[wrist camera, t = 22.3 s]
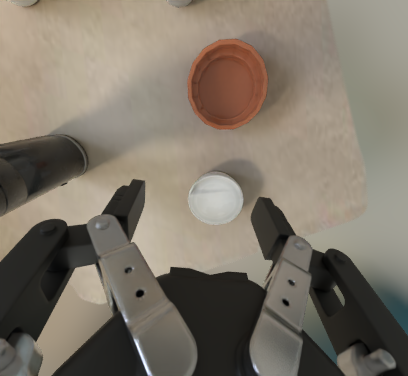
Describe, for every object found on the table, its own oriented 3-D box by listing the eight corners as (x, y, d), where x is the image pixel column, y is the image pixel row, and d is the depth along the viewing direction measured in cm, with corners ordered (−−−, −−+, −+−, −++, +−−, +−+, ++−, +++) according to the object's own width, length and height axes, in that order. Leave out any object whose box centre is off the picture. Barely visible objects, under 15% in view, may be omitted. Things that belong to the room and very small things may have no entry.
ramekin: (220, 156, 38) (221, 163, 33) (250, 194, 41) (255, 206, 37) (180, 186, 42) (176, 197, 37) (211, 219, 45) (211, 233, 40)
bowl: (182, 111, 35) (177, 112, 30) (206, 35, 30) (204, 23, 25) (241, 135, 36) (245, 140, 32) (273, 66, 31) (283, 60, 27)
